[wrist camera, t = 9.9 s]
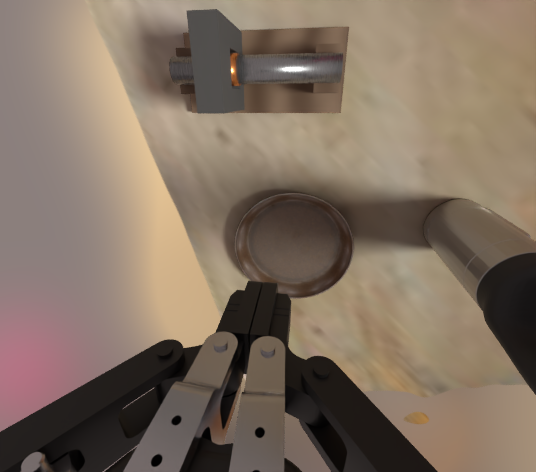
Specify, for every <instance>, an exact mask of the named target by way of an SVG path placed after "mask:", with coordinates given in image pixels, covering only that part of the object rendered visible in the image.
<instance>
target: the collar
mask: <svg viewBox="0 0 536 472" xmlns="http://www.w3.org/2000/svg"><path fill="white" fill-rule="evenodd" d="M187 19H188V28H189V38H190V47H191V57H192V66H193V76H194V85H195V95H196V104H197V113H229V112H234V111H240V110H245V106H244V84H241V85H240V86H232V80H231V61H230V53H238V54H239V55H243V53H242V32H241V31H240V30H239V29H238V28H237V27H236V26H235V25H233V24H232V23H231V22H230V21H229V20H228V19H227V18H226V17H225V16H224V15H223V14H222V13H221V12H219V11H218V10H217V9H213V10H192V11H187Z"/></svg>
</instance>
